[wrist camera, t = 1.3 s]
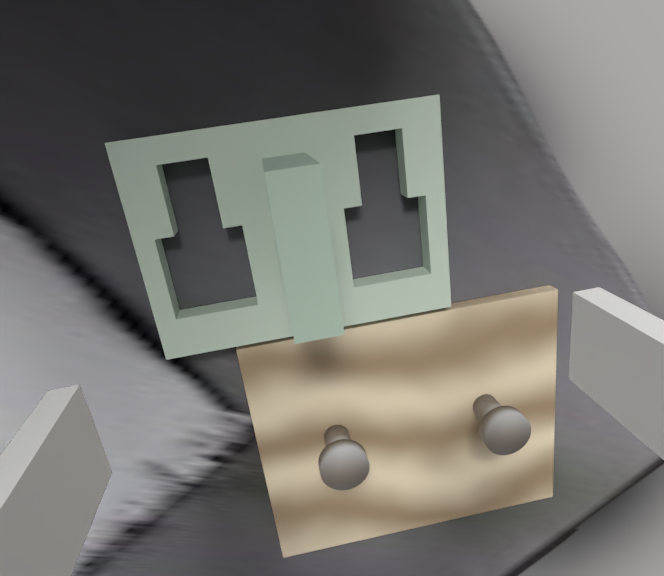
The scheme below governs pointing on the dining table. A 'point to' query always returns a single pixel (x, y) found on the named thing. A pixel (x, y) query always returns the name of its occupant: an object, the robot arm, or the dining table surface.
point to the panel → (256, 219)
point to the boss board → (406, 419)
